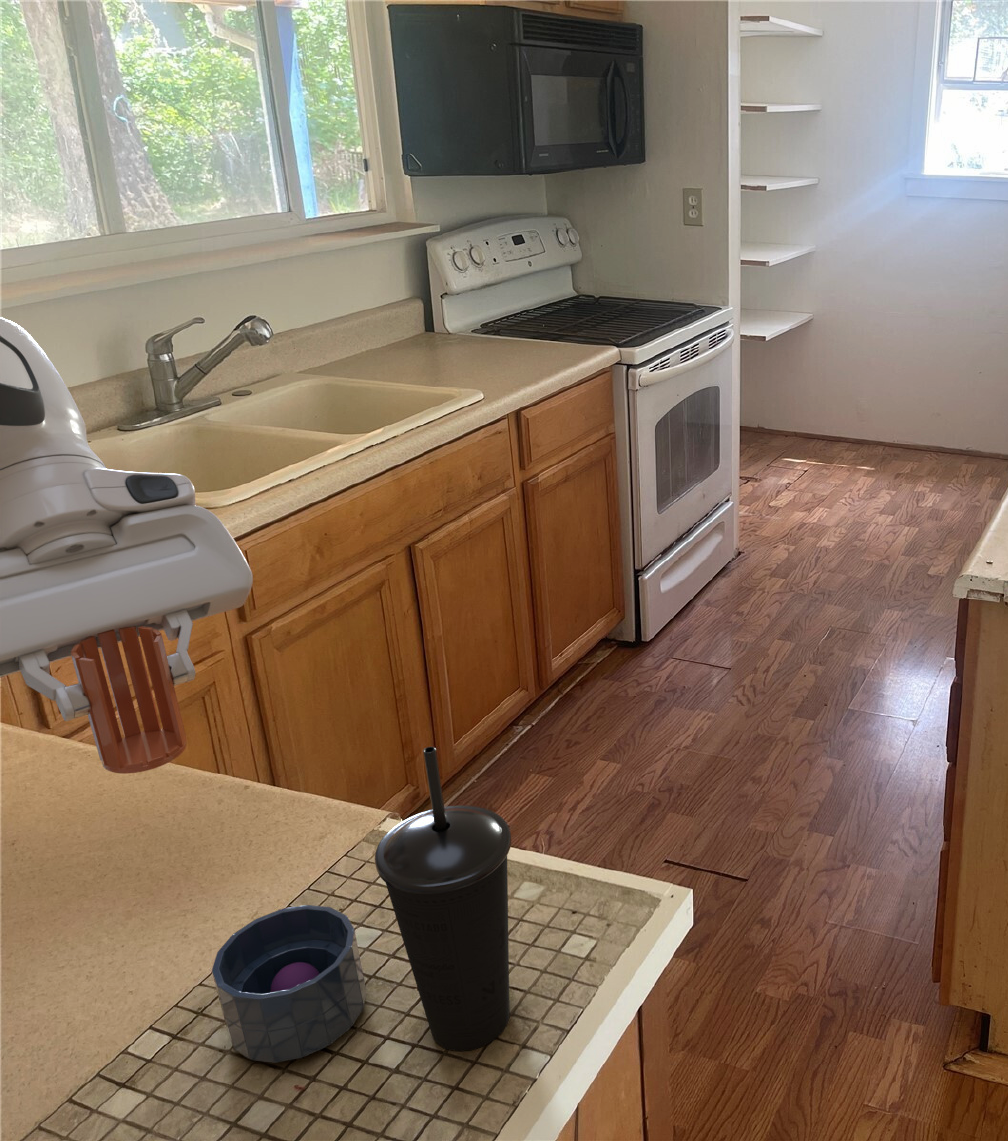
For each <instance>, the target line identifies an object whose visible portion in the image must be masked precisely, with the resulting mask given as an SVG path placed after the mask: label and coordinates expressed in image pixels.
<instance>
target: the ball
mask: <svg viewBox="0 0 1008 1141" xmlns="http://www.w3.org/2000/svg"><path fill="white" fill-rule="evenodd" d="M319 974H320V973H319V972H318V970H317V969H316V968H315V967H313V966H312V965H310V964H307V963H303V962H297V963H292V964H289V965H287V966H285V967H284V968H282V969H281V970H280V971H279V972H278V973H277V974H276V976H275V977H274V979H273V981H272V984H271V990H270V992H271V993H272V992H278V991H283V990H289V989H291V988H293V987H295V986H298V985H300V984H302V983H305V982H307V981H309V980H312V979H314V978H315V977H316V976H318V975H319Z"/></svg>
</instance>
